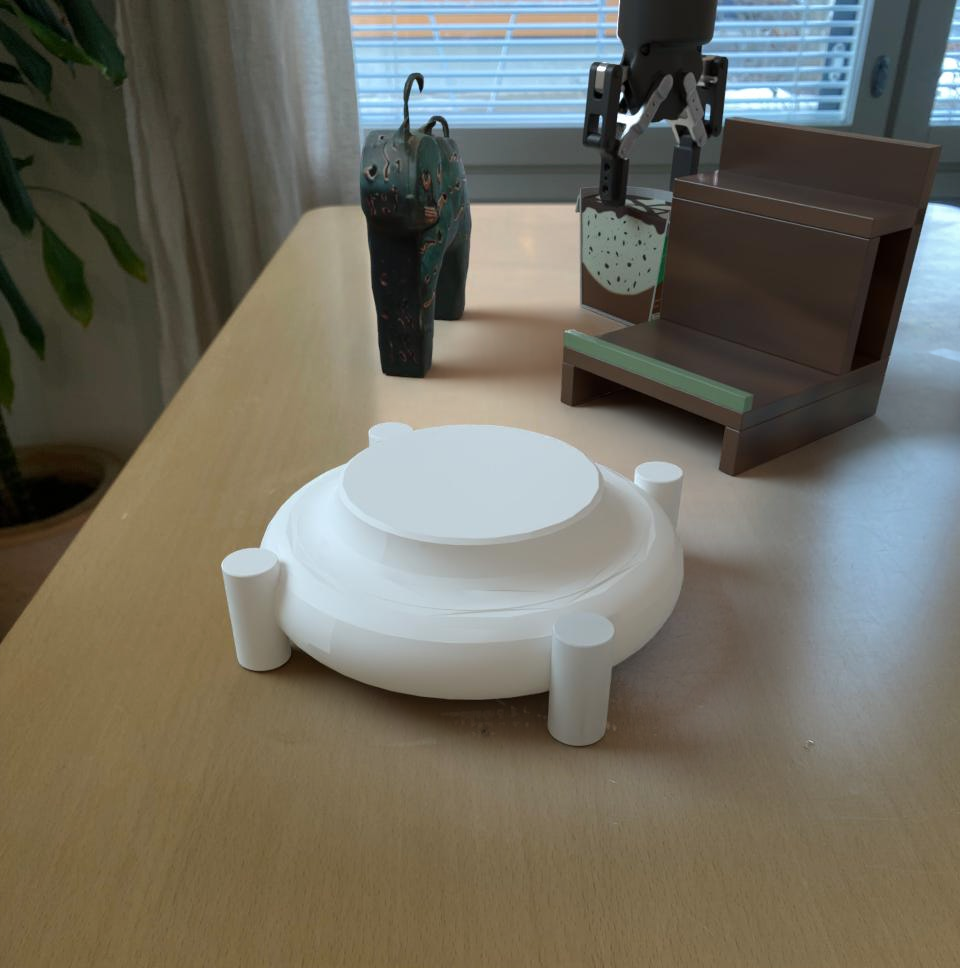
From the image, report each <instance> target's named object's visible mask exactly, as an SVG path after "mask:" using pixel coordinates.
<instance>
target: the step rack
mask: <svg viewBox="0 0 960 968" xmlns="http://www.w3.org/2000/svg"><path fill="white" fill-rule="evenodd" d="M721 139H722V140H721V145H720V146H721V148H720V153H719V154H720V155H719V162H718V169H717V170H713V171H708V172H704V173H697V175H691V176H685V177H680V178H675V179H674V186H673V196H674V197H672V204H671V213H670V223H669V232H668V241H667V251H666V260H665V269H664V278H663V288H662V297H661V306H660V316H659V317H660V318H658V319H655V320H651V321H648V322H644V323H641V324H637V325H634V326H627V327H624V328H620V329H617V330H613V331H610V332H606V333H603V334H598V335H595V336H592V335H589V334H587V333H583V332H582V331H578V330H575V329H572V328H571V329H568V330H564V331H563V349H562V350H563V352H562V364H561V384H560V385H561V387H560V402H561V403H563V404H566V405H568V406H570V407H573V406H575V405H580V404H582V403H585V402H589V401H591V400H594V399H598V398H600V397H604V396H606V395H609V394H612V393H615V392H618V391H621V390H625V389H627V388H629V389H631V390H634V391H637V392H639V393H642V394H644V395H647V396H649V397H652V398H654V399H656V400H659V401H662V402H664V403H667V404H669V405H671V406H675V407H677V408H679V409H682V410H684V411H686V412H687V411H688V412H689V413H692V414H695V415H697V416H700V417H702V418H705V419H708V420H710V421H713V422H715V423H717V424H720V425H723V426H725V427H724V433H723V438H722V445H721V451H720V458H719V464H718V470H719V471H720V472H722V473H725V474H728V475H730V476H731V477H732V476H736V475H739V474H740V473H742V472H745V471H747V470H749V469H752V468H755V467H757V466H759V465H761V464H764V463H766V462H768V461H771V460H773V459H775V458H778V457H780V456H783V455H784V454H786V453H789V452H792V451H793V450H795V449H798V448H800V447H803V446H806V445H807V444H809V443H810V444H811V443H812V442H814V441H816V440H819V439H822V438H823V437H826V436H828V435H830V434H833V433H835V432H837V431H839V430H842V429H845V428H846V427H849V426H851V425H853V424H856V423H858V422H860V421H864V420H865V419H867V418H870V417H872V416H874V415H876V413H877V410H878V405H879V401H880V397H881V393H882V390H883V385H884V382H885V378H886V373H887V369H888V366H889V361H890V358H891V354H892V350H893V346H894V341H895V338H896V334H897V330H898V326H899V322H900V317H901V314H902V310H903V306H904V303H905V297H906V294H907V290H908V286H909V282H910V278H911V274H912V270H913V266H914V263H915V258H916V253H917V250H918V246H919V242H920V239H921V234H922V229H923V226H924V222H925V218H926V214H927V211H928V205H929V202H930V198H931V194H932V190H933V187H934V182H935V178H936V174H937V169H938V166H939V163H940V158H941V154H942V150H943V145H940V144H933V143H927V142H920V141H912V140H905V139H898V138H890V137H883V136H877V135H868V134H863V133H856V132H849V131H842V130H833V129H826V128H820V127H813V126H806V125H799V124H798V125H797V124H791V123H786V122H785V123H784V122H777V121H770V120H763V119H755V118H749V117H743V116H730V117H725V118H724V125H723V131H722V138H721Z"/></svg>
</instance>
